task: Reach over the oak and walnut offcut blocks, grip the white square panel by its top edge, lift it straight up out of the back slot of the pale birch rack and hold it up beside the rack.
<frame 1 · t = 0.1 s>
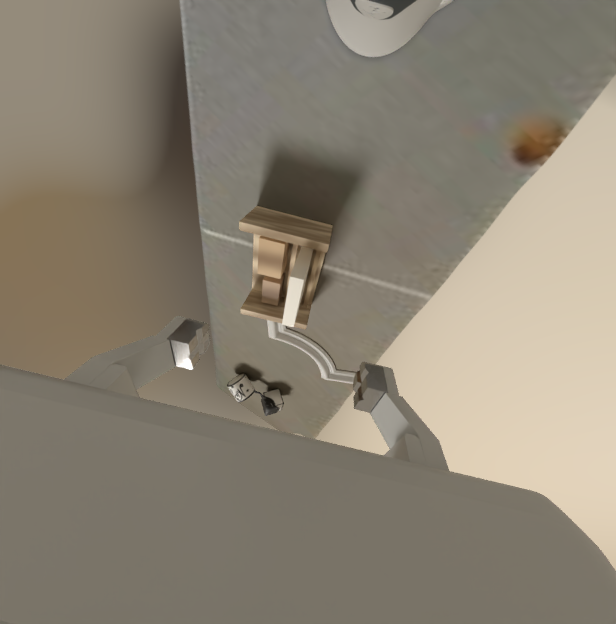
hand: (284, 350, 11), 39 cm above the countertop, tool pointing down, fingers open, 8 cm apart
walnut offcut: (276, 281, 54), point 1 cm above the countertop, touching offcut rack
oak offcut: (277, 247, 48), point 1 cm above the countertop, touching offcut rack
offcut rack: (287, 262, 52), on the countertop
patterned dumbbell: (260, 382, 92), on the countertop
molding: (315, 347, 72), on the countertop
white square panel: (303, 269, 51), point 1 cm above the countertop, touching offcut rack
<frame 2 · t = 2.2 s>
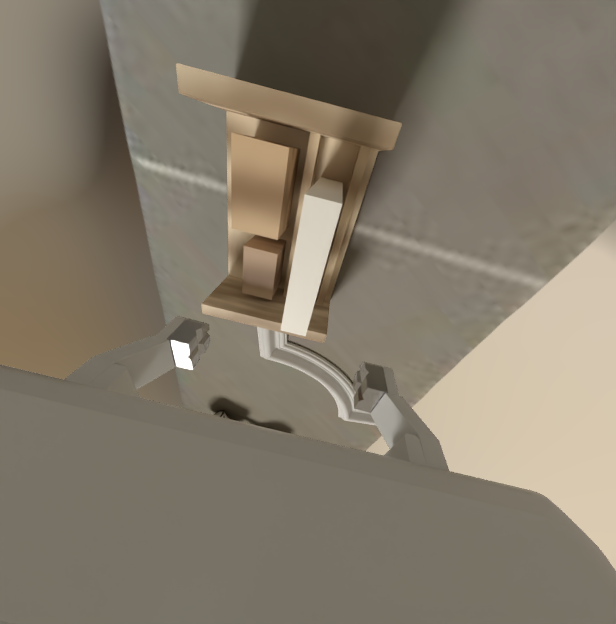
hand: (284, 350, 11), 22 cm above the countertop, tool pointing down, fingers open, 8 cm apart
walnut offcut: (269, 259, 31), point 1 cm above the countertop, touching offcut rack
oak offcut: (273, 185, 26), point 1 cm above the countertop, touching offcut rack
offcut rack: (291, 222, 29), on the countertop
molding: (331, 372, 47), on the countertop
white square panel: (319, 233, 28), point 1 cm above the countertop, touching offcut rack
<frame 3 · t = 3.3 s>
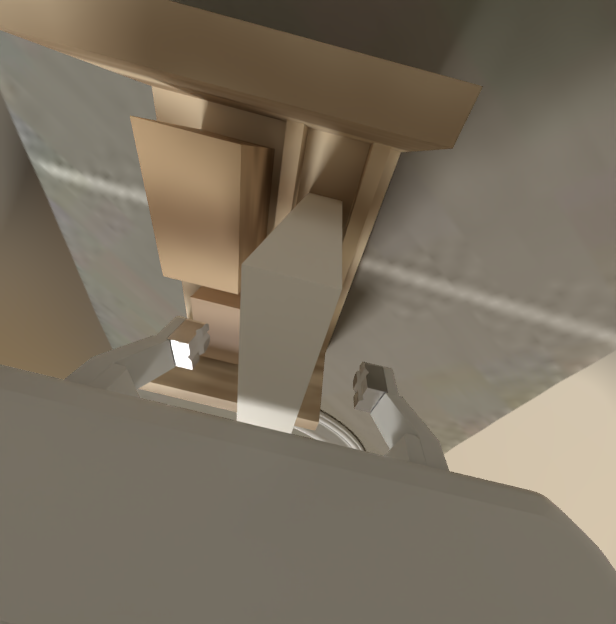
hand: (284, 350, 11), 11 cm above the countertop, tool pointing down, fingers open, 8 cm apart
walnut offcut: (240, 302, 22), point 1 cm above the countertop, touching offcut rack
oak offcut: (237, 203, 17), point 1 cm above the countertop, touching offcut rack
offcut rack: (268, 253, 20), on the countertop
molding: (330, 423, 38), on the countertop
white square panel: (308, 270, 19), point 1 cm above the countertop, touching offcut rack
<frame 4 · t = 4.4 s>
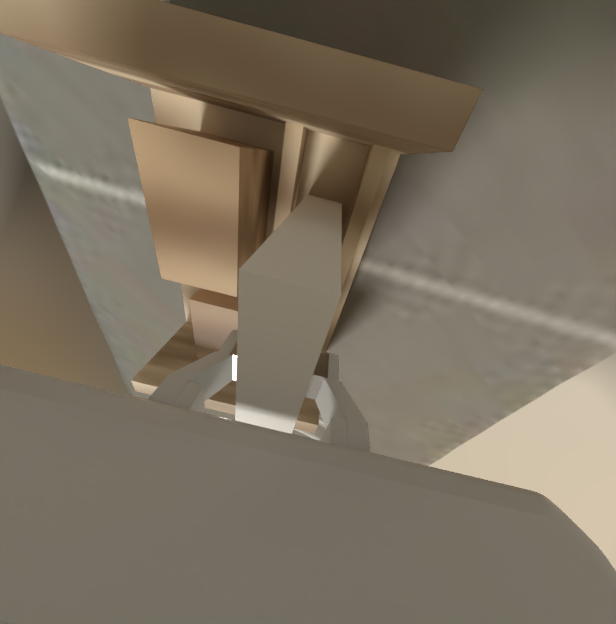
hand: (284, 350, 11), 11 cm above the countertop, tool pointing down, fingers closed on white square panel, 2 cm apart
walnut offcut: (239, 304, 22), point 1 cm above the countertop, touching offcut rack
oak offcut: (236, 205, 17), point 1 cm above the countertop, touching offcut rack
offcut rack: (268, 255, 20), on the countertop
white square panel: (307, 272, 19), point 1 cm above the countertop, touching gripper, offcut rack
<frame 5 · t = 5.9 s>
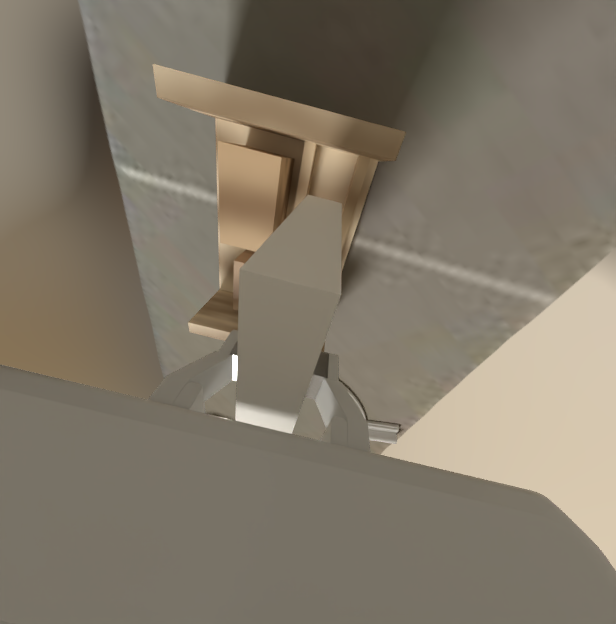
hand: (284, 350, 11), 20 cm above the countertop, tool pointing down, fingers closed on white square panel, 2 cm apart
walnut offcut: (262, 272, 29), point 1 cm above the countertop, touching offcut rack
oak offcut: (266, 196, 24), point 1 cm above the countertop, touching offcut rack
offcut rack: (285, 234, 28), on the countertop
molding: (334, 385, 44), on the countertop
white square panel: (307, 272, 19), point 10 cm above the countertop, touching gripper
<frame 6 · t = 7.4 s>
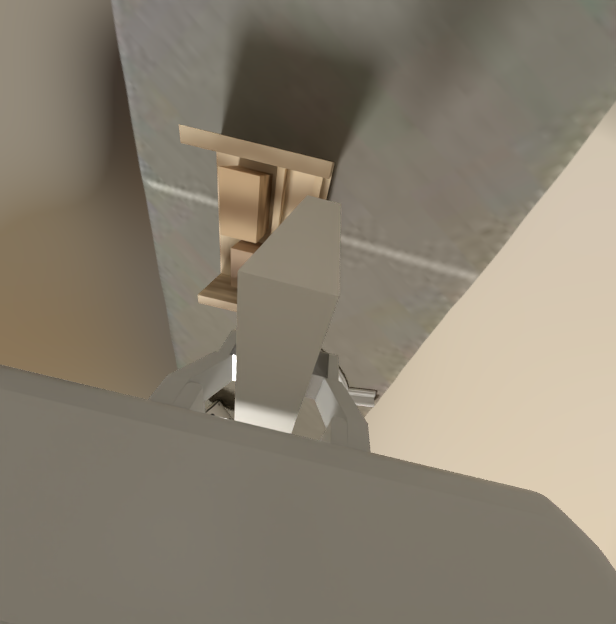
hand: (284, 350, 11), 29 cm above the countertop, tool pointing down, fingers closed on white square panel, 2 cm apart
walnut offcut: (253, 259, 38), point 1 cm above the countertop, touching offcut rack
oak offcut: (253, 201, 33), point 1 cm above the countertop, touching offcut rack
offcut rack: (270, 229, 36), on the countertop
patterned dumbbell: (242, 410, 70), on the countertop
molding: (319, 356, 53), on the countertop
white square panel: (307, 273, 19), point 19 cm above the countertop, touching gripper
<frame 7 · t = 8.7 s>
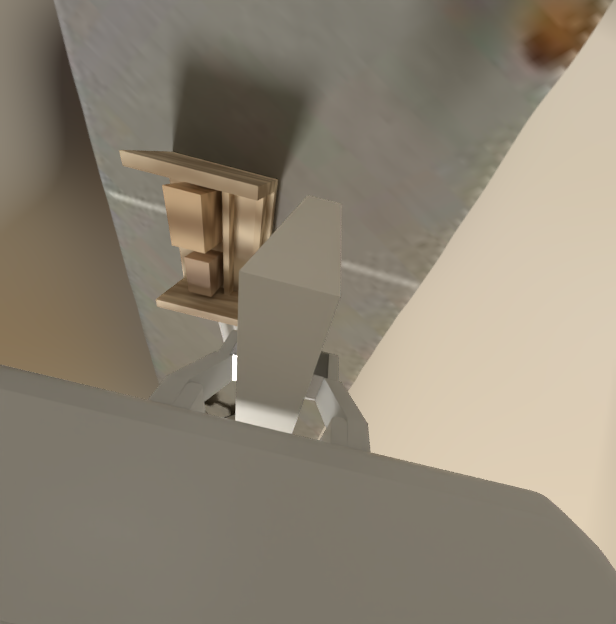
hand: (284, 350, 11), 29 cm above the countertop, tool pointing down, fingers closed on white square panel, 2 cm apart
walnut offcut: (212, 266, 41), point 1 cm above the countertop, touching offcut rack
oak offcut: (206, 213, 35), point 1 cm above the countertop, touching offcut rack
offcut rack: (226, 238, 39), on the countertop
white square panel: (307, 273, 19), point 19 cm above the countertop, touching gripper
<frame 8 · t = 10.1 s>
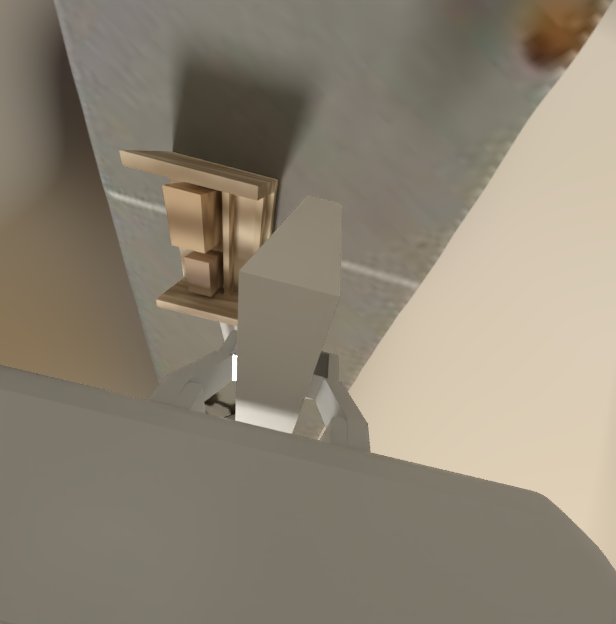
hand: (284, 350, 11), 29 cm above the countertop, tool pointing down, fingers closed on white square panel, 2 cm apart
walnut offcut: (212, 265, 41), point 1 cm above the countertop, touching offcut rack
oak offcut: (206, 213, 35), point 1 cm above the countertop, touching offcut rack
offcut rack: (226, 238, 39), on the countertop
white square panel: (307, 273, 19), point 19 cm above the countertop, touching gripper
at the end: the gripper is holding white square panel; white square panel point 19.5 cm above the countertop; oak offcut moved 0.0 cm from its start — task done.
